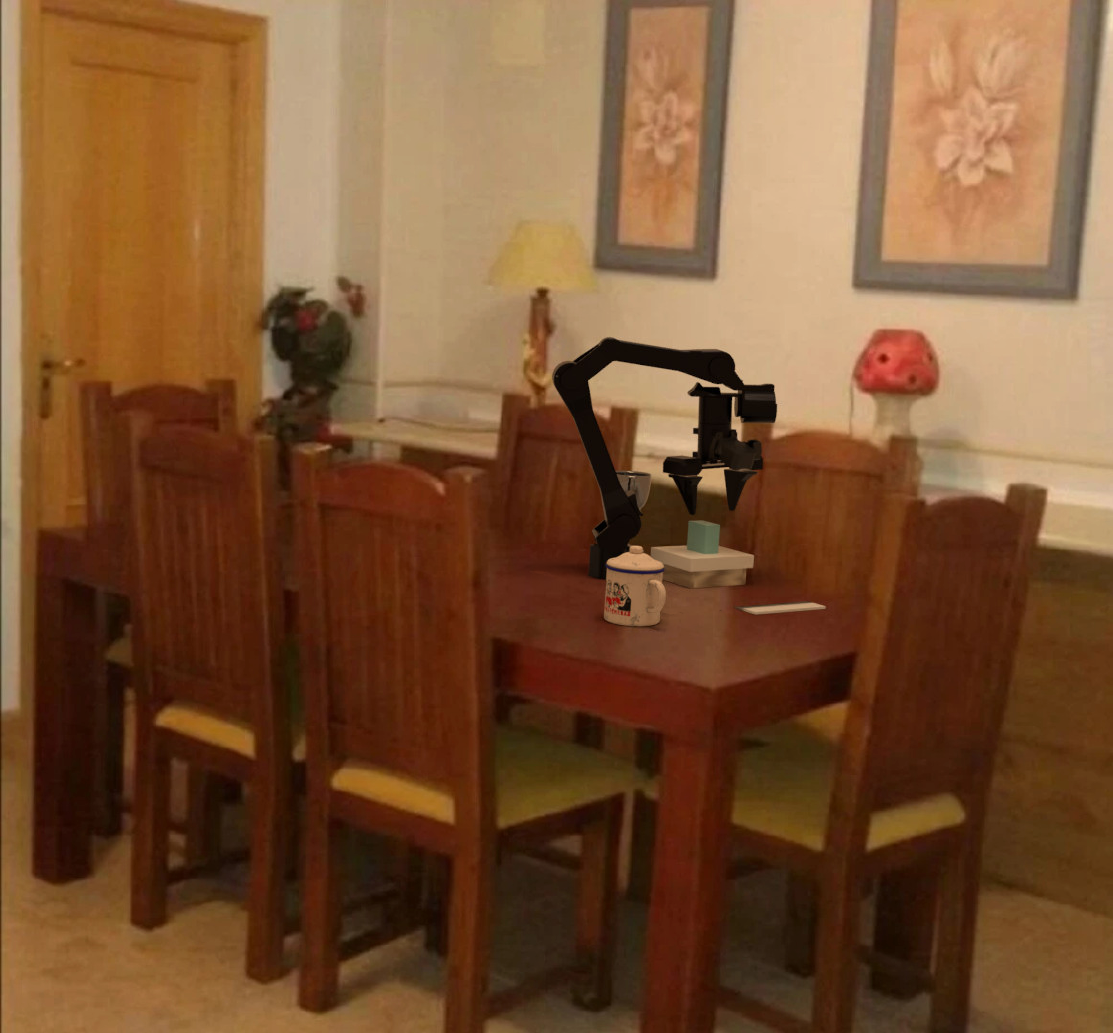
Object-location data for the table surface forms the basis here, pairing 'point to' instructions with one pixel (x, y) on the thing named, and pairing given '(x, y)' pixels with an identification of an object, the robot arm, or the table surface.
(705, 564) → the lid
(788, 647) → the table surface
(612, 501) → the robot arm
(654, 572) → the teacup with lid
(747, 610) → the mat
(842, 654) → the table surface
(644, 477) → the wine glass
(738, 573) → the box
